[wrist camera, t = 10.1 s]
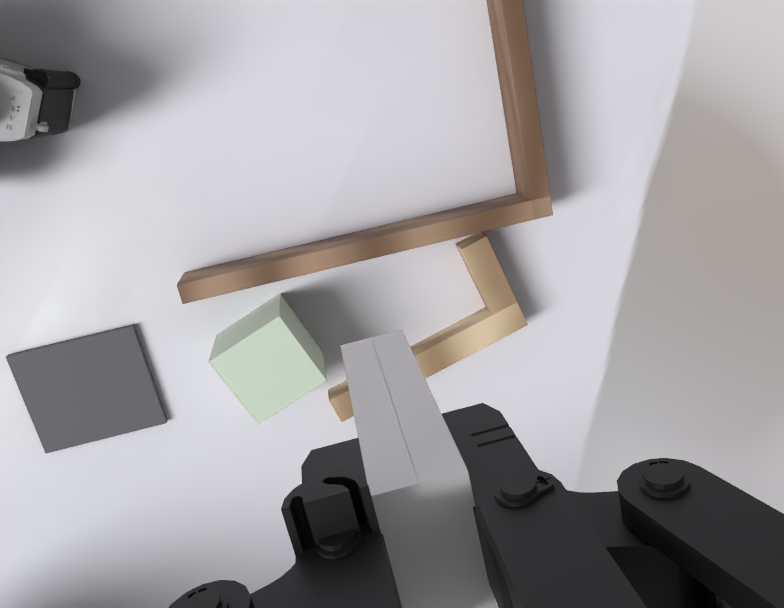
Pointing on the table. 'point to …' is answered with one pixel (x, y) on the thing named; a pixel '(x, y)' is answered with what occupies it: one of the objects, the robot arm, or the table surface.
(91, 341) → the pad
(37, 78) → the camera
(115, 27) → the table surface
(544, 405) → the table surface
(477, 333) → the crook
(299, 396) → the sage cube
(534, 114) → the brown wooden u frame
